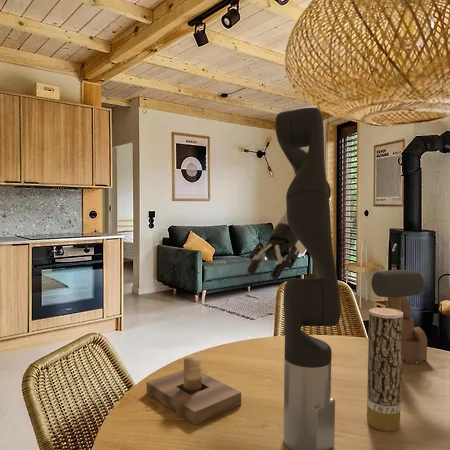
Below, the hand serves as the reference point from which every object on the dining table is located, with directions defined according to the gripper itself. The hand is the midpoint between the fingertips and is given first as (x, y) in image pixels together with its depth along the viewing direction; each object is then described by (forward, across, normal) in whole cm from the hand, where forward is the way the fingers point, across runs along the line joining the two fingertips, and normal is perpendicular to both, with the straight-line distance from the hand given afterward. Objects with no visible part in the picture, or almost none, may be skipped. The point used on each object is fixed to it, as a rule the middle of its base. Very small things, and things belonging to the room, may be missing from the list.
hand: (261, 275), depth 112 cm
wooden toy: (-13, +18, +54) cm, 58 cm away
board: (+35, -3, +5) cm, 36 cm away
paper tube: (+18, +34, +22) cm, 45 cm away
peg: (+35, -4, +6) cm, 36 cm away
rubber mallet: (0, +24, +41) cm, 47 cm away
